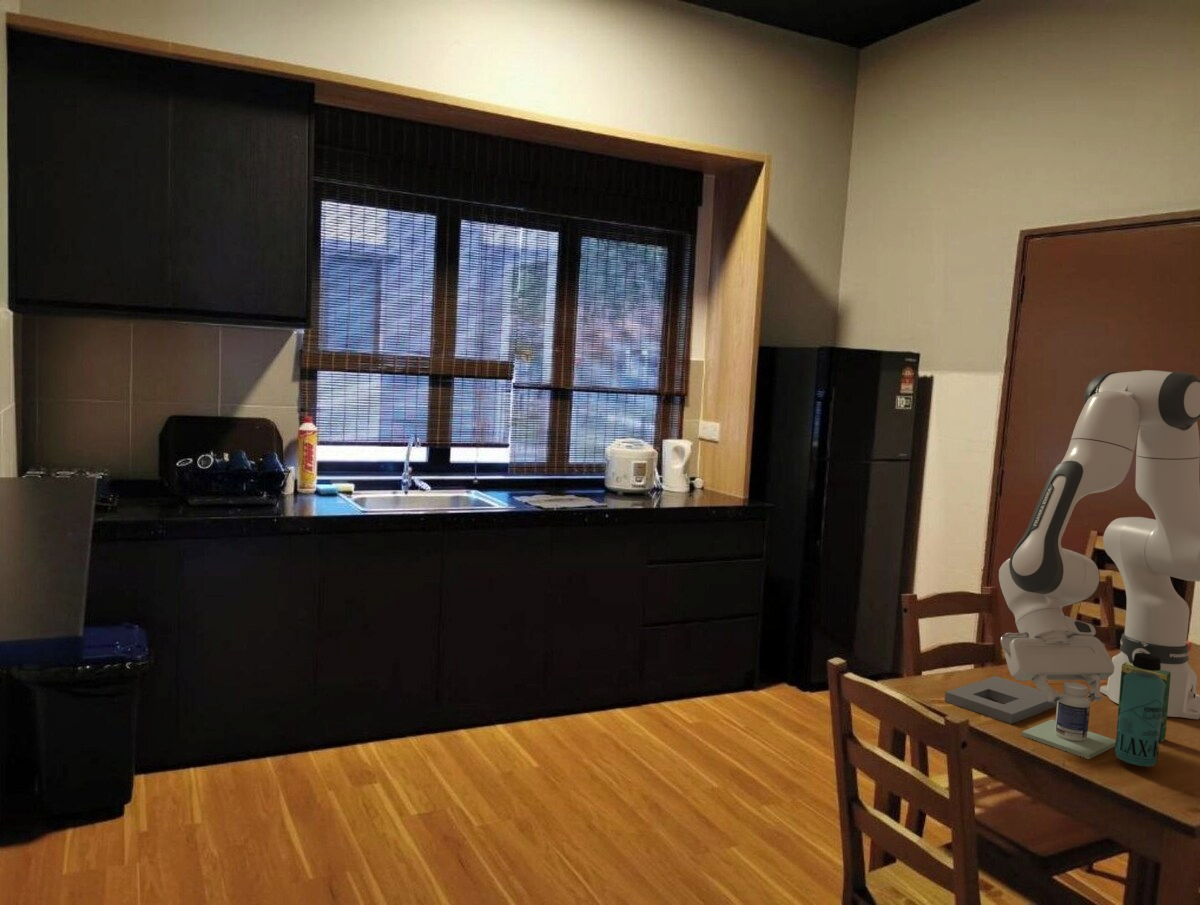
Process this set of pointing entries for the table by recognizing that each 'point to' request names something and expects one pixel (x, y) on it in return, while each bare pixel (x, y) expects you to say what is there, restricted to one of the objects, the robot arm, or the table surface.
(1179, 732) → the table surface
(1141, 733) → the beverage bottle
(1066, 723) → the pill bottle
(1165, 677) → the coffee box
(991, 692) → the frame
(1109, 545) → the robot arm
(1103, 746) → the mat
